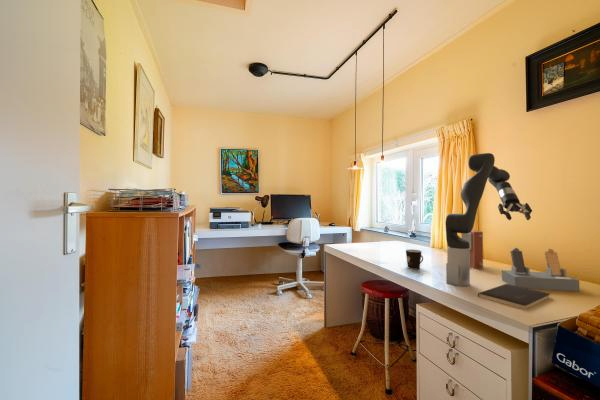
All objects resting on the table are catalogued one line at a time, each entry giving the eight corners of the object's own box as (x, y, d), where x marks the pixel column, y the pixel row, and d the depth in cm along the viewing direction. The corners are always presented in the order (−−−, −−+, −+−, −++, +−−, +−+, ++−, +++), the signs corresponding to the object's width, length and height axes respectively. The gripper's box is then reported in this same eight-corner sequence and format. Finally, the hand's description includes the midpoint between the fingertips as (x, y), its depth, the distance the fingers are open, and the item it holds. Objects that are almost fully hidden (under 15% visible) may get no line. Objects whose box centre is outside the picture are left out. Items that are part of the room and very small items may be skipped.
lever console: (515, 287, 123) (514, 269, 123) (501, 280, 134) (501, 263, 134) (579, 291, 117) (579, 272, 117) (560, 283, 129) (559, 266, 129)
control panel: (470, 263, 171) (485, 269, 156) (458, 263, 171) (473, 269, 156) (469, 229, 171) (485, 231, 156) (458, 229, 171) (473, 231, 156)
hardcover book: (550, 299, 110) (550, 293, 110) (525, 311, 98) (525, 304, 98) (504, 288, 124) (504, 283, 124) (477, 297, 112) (477, 292, 112)
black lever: (516, 272, 127) (511, 247, 131) (513, 272, 129) (509, 248, 133) (526, 272, 126) (521, 247, 130) (523, 273, 128) (518, 248, 132)
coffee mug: (404, 265, 166) (404, 249, 166) (419, 266, 164) (419, 249, 164) (408, 270, 154) (408, 252, 154) (424, 271, 152) (424, 253, 152)
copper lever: (552, 273, 124) (546, 248, 128) (548, 274, 126) (543, 249, 130) (562, 274, 123) (556, 248, 127) (559, 274, 125) (553, 249, 129)
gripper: (496, 192, 154) (506, 214, 143) (525, 192, 151) (538, 214, 140) (492, 202, 160) (501, 223, 149) (520, 201, 156) (532, 223, 145)
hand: (519, 219), depth 144 cm, fingers open, 8 cm apart
